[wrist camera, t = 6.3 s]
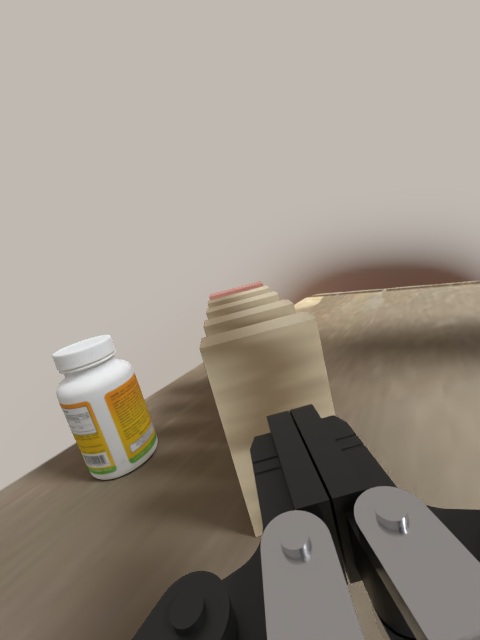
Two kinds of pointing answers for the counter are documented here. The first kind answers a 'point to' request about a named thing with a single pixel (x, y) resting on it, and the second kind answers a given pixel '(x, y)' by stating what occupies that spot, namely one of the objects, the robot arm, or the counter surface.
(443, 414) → the counter surface
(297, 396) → the domino
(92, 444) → the supplement bottle
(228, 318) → the domino
